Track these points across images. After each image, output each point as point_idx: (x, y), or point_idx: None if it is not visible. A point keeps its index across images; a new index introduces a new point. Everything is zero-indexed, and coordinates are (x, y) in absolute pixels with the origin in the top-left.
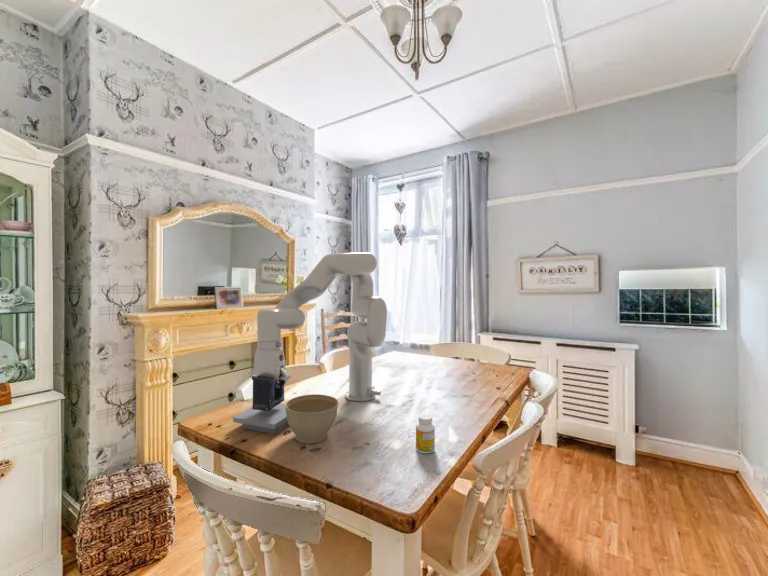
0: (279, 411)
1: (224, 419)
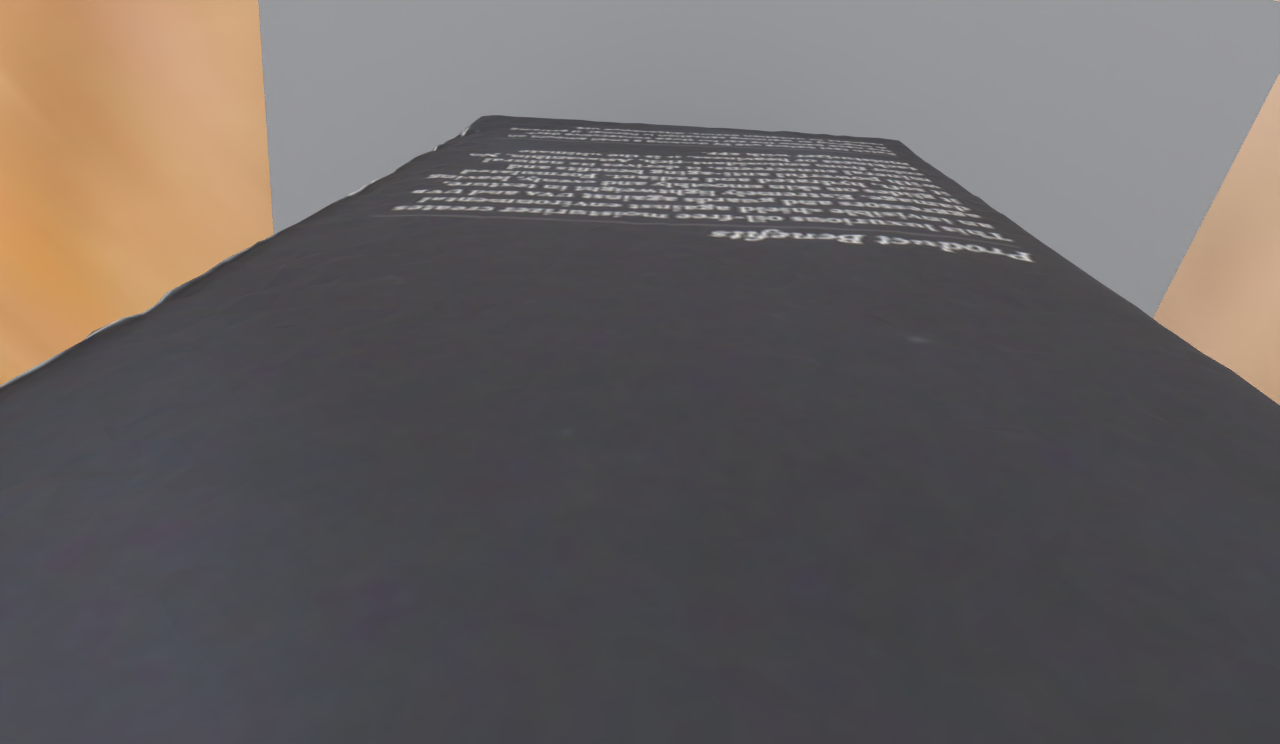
0: None
1: (29, 276)
